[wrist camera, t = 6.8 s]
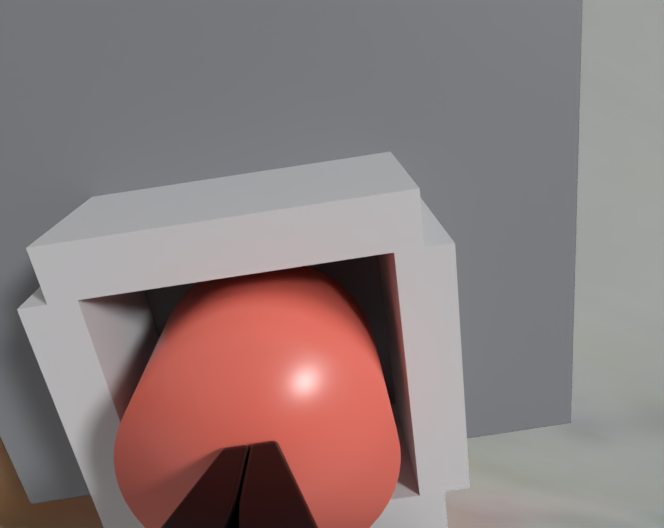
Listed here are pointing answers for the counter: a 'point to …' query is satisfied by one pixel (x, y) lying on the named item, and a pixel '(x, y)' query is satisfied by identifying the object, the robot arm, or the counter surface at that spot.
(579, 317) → the counter surface
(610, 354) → the counter surface
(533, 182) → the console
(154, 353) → the red plunger
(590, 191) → the counter surface
